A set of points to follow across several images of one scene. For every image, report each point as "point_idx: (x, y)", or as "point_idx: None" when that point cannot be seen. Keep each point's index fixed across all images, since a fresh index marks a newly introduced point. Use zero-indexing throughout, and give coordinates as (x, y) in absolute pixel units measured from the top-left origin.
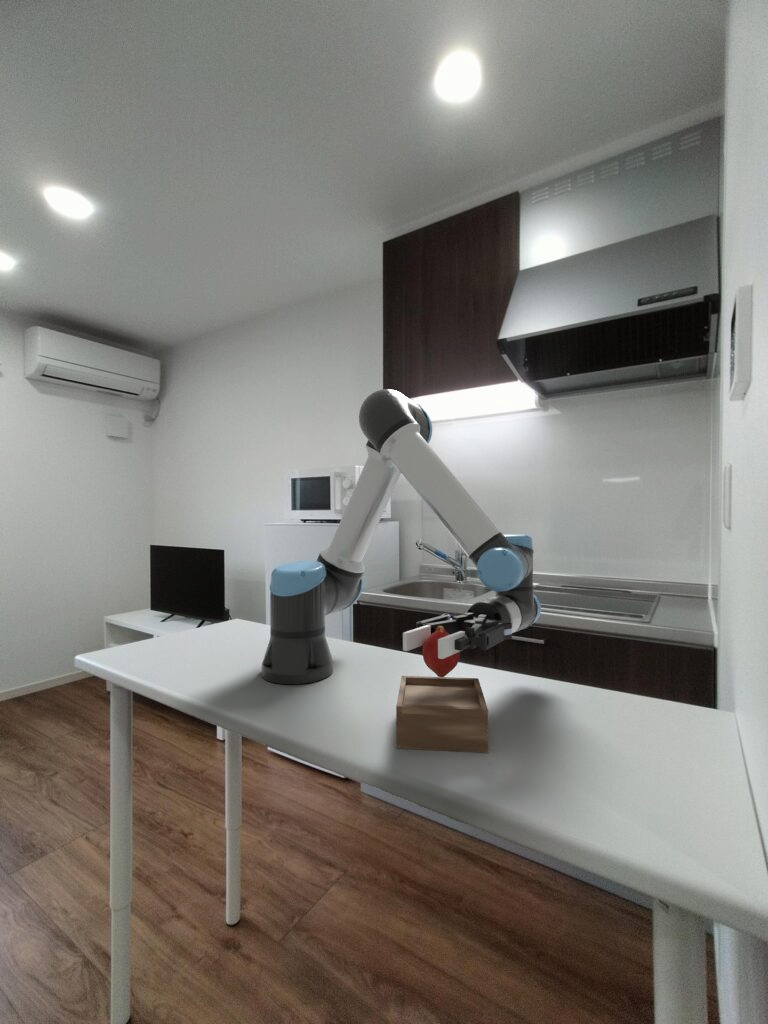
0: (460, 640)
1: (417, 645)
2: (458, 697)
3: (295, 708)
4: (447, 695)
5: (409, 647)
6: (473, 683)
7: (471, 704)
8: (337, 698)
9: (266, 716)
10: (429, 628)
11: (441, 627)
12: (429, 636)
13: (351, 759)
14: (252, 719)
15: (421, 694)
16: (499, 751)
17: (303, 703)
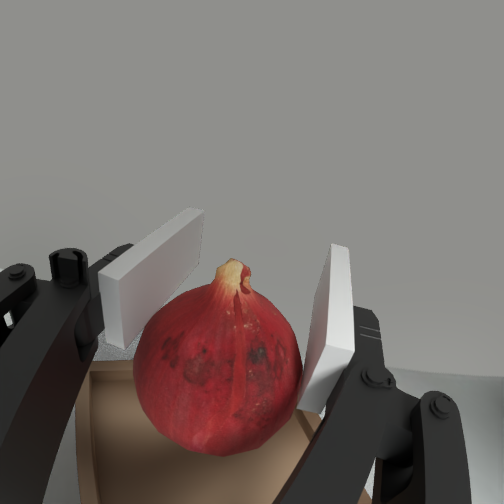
0: (127, 248)
1: (311, 328)
2: (153, 468)
3: (480, 429)
4: (190, 475)
5: (316, 296)
6: None
7: (113, 428)
8: (474, 497)
9: (477, 393)
10: (321, 345)
11: (225, 265)
12: (278, 310)
13: (304, 356)
14: (477, 380)
15: (267, 459)
16: (74, 422)
17: (488, 447)
